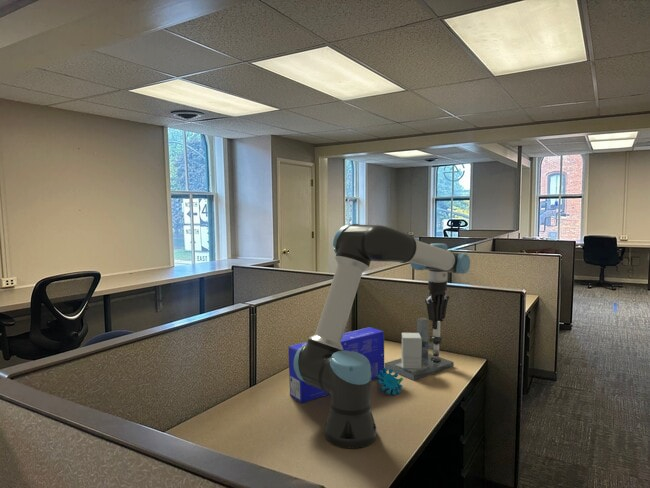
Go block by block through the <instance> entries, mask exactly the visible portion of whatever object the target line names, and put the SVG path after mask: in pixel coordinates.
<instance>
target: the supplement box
mask: <svg viewBox="0 0 650 488" xmlns="http://www.w3.org/2000/svg"><path fill="white" fill-rule="evenodd" d="M421 352H422V338H421V336H420V334H419V333H417V332H401V357H400V358H401V361H402V365H403V368H409V369H421Z"/></svg>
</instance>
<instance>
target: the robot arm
mask: <svg viewBox="0 0 650 488" xmlns="http://www.w3.org/2000/svg"><path fill="white" fill-rule="evenodd" d="M332 246H333V251H334V254H335V257H334V260H335V261H336V263H337V266H336V269H335V270H334V271H335V272H334V274H333V278H332V281H331V285H330V287H329V290H328V294H327V296H326V300H325V302H324V306H323V309H322V312H321V315H320V317H319V318H320V319H319V320H318V324H317V327H316V330H315V333H314V335H311V336H309V338H307V339H308V340H307V344H305V345H302V346H301V348H299V349H298V350H297V352H296V354H295V357H294V370H295V372H296V375H297V377H298V378H299V379H300V380H302V381H304V382H305V383H306V384H308V385H312V386H314V387H316V388H318V389H320V390H323V391H325V392H327V393H329V394H328V395H330V410H329V413H328V417H327V420H326V422H325V425H324V436H325V439H326V440H327V441H328V442H329V443H331V444H332V445H334V446H336V447H339V448H343V449H359V448H365V447H368V446H370V445H371V444H373V443H374V442H375V440H376V439H377V425H376V423H375V418H374V416H373V413H372V409H371V408H372V407H371V406H372V405H371V401H372V398H371V397H372V380H371V367H370V362H369V360H368V359H367V358H366V357H365V356H364V355H362V354H360V353H357V352H354V351H352V352H350V351H343V350H344V349H343V347H342V345H341V340H342V337H343V333H345V330H346V326H347V323H348V320H349V316H350V313H351V310H352V307H353V303H354V300H355V297H356V296H357V295H356V294H357V292H358V288H359V285H360V282H361V277H362V275H363V273H364V272H365V271H367V270H368V269H369V268H370V265H371V262H385V263H386V262H387V263H388V262H389V263H390V262H392V263H400V264H405V263H410V266H411V268H413V269H414V270H416V271H424V270H426V271H428V274H427V279H428V282H427V283H428V285H427V287H428V291H429V294H428V297H427V298H424V302H425V304H426V310H427V317H428V319H429V321H432V335H433V336H435V337H440V336H441V328H442V322H444V319H445V318H446V313H447V307H448V303H449V300H450V295H447V294H446V291H447V290H448V273H452V274H461V275H462V274H463V275H465V274H467V273H468V272H469V270H470V268H471V267H470V266H471V258H470V256H469V255H468V254H467V253H461V252H453V251H450V250H448V245H447V244H446V243H438V242H437V243H436V242H435V243H434V242H433V243H430V244H429V243H426V242H423V241H421V240H417V239H416V238H415V237H414V236H413V235H411V234H408V233H406V232H402V231H401V230H398V229H395V228H392V227H389V226H385V225H380V224H379V225H378V224H376V225H375V224H359V223H351V224H345V225H343V226H341V227H340V228H339V229H338V230H337V232H336V233H335V234H334V236H333V242H332Z"/></svg>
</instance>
